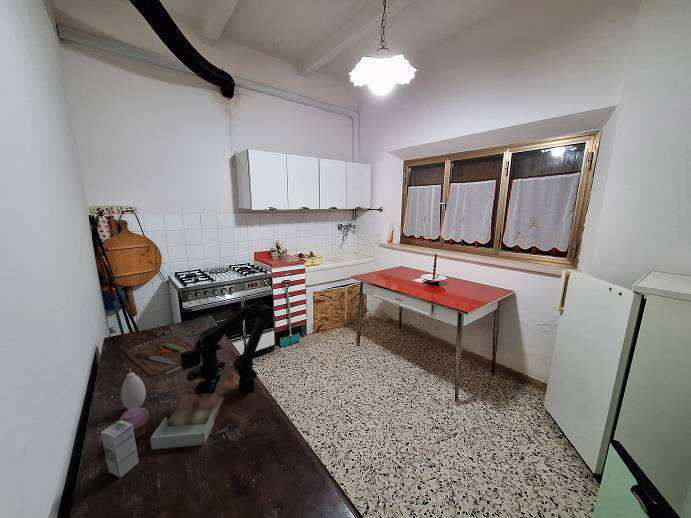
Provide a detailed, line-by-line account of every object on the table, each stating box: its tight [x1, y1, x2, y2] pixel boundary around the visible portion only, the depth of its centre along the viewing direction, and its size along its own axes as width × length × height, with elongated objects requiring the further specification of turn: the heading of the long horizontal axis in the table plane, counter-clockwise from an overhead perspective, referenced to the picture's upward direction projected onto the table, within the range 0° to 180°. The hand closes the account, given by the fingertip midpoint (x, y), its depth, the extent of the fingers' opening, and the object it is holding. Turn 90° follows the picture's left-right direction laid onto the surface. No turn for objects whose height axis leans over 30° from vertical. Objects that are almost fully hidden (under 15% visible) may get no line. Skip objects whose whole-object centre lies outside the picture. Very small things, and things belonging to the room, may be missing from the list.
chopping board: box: [125, 335, 202, 377], centre depth 153 cm, size 45×27×3 cm, turn 54°
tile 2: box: [200, 392, 218, 409], centre depth 109 cm, size 5×5×3 cm
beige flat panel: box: [167, 395, 224, 426], centre depth 108 cm, size 16×12×2 cm
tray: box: [149, 413, 215, 451], centre depth 97 cm, size 17×10×4 cm, turn 97°
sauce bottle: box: [120, 368, 147, 410], centre depth 109 cm, size 8×8×18 cm
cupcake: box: [118, 407, 150, 440], centre depth 96 cm, size 9×9×10 cm
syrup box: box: [100, 420, 139, 478], centre depth 84 cm, size 6×6×14 cm
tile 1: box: [177, 394, 198, 411], centre depth 108 cm, size 5×5×3 cm
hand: (212, 395), depth 114 cm, fingers closed
